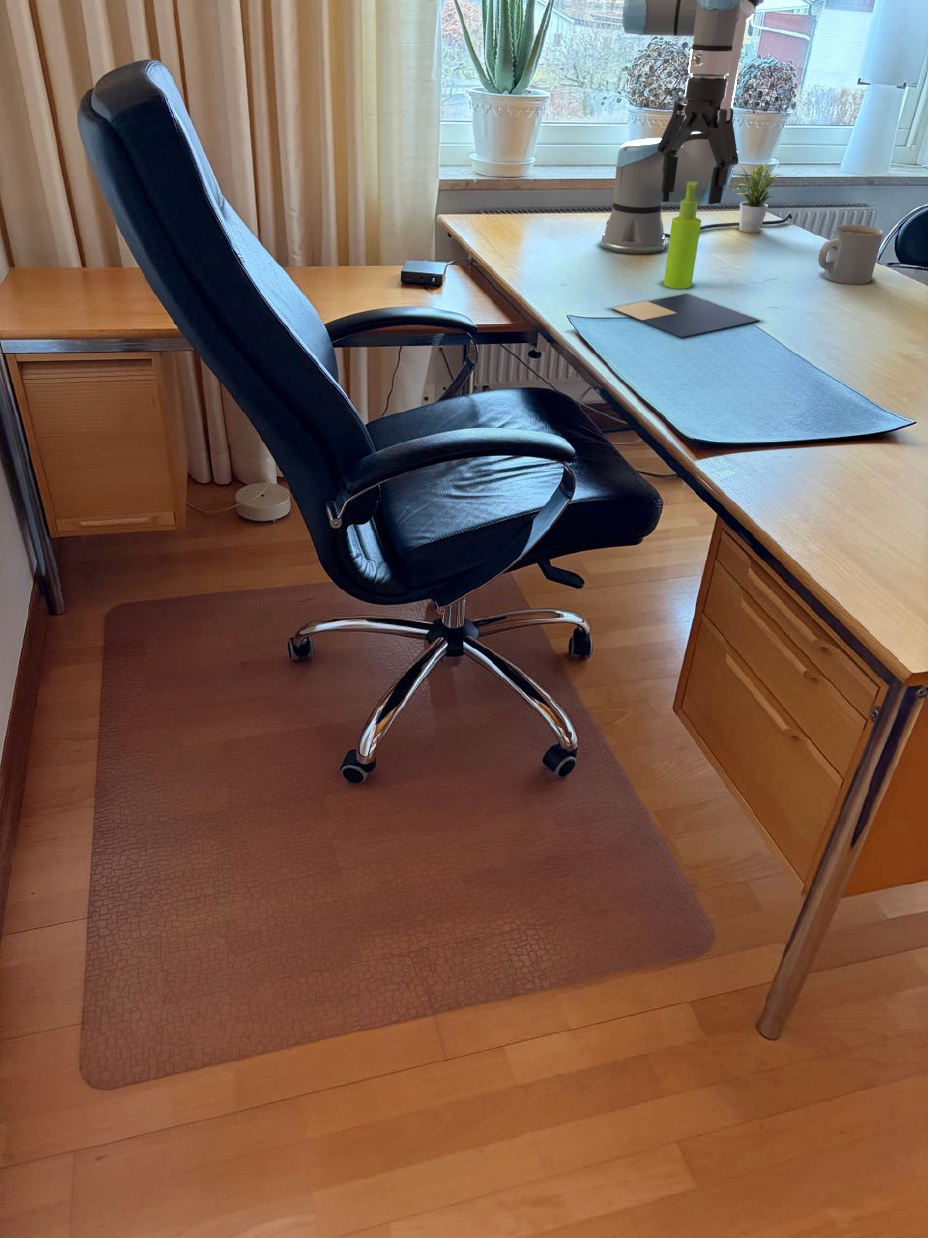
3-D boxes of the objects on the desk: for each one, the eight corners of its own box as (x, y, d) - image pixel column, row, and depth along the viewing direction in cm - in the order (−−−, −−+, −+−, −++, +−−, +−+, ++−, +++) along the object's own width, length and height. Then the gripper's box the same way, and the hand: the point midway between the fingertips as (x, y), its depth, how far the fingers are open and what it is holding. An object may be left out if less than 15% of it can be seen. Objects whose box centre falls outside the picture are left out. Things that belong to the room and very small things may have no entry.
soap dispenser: (693, 281, 198) (709, 180, 186) (689, 289, 193) (705, 186, 181) (666, 278, 199) (680, 178, 188) (661, 286, 194) (675, 184, 183)
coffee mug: (857, 271, 206) (869, 223, 201) (879, 283, 198) (892, 234, 193) (801, 272, 205) (811, 225, 199) (820, 284, 197) (832, 235, 191)
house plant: (717, 221, 246) (728, 154, 236) (770, 223, 244) (783, 156, 235) (722, 233, 234) (733, 163, 225) (777, 236, 233) (791, 165, 223)
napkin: (686, 295, 189) (687, 293, 189) (759, 321, 176) (759, 319, 176) (611, 309, 181) (611, 307, 181) (681, 338, 167) (682, 336, 167)
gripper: (648, 71, 181) (635, 188, 193) (742, 82, 163) (721, 210, 176) (677, 70, 184) (662, 185, 196) (771, 81, 167) (749, 206, 179)
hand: (690, 197), depth 186 cm, fingers open, 13 cm apart
